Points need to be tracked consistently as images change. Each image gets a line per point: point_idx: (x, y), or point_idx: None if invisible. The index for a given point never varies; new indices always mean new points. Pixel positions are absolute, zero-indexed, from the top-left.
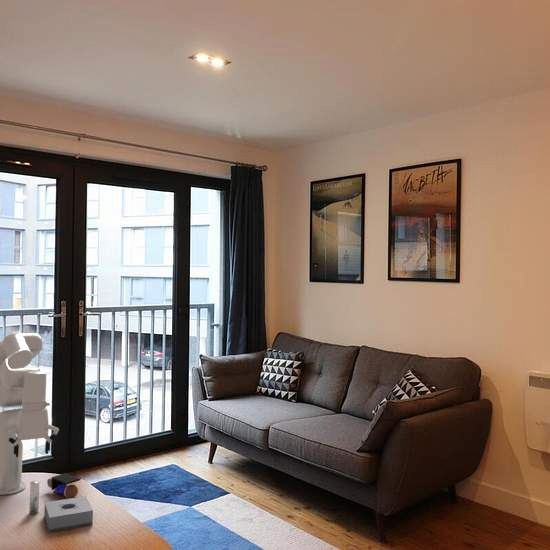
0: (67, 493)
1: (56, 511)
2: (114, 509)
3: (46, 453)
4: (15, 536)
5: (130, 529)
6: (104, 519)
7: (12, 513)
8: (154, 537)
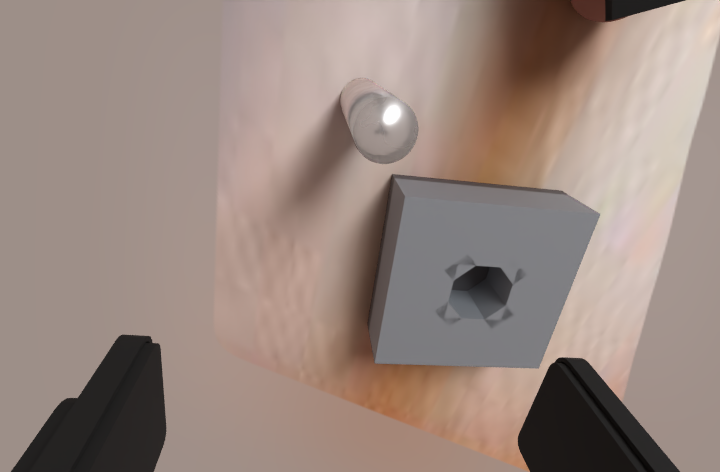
0: (581, 7)
1: (417, 321)
2: (647, 244)
3: (524, 448)
4: (253, 301)
5: None
6: (567, 308)
7: (263, 46)
8: None
